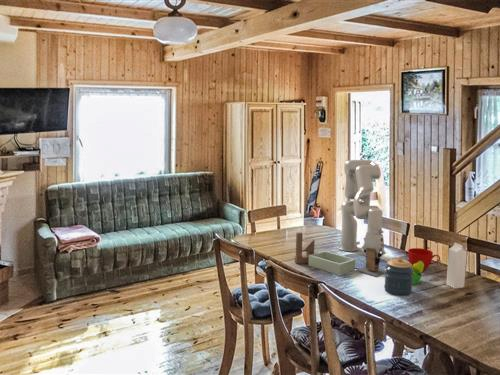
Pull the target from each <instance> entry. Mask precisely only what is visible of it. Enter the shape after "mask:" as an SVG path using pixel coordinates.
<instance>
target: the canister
mask: <svg viewBox="0 0 500 375" xmlns="http://www.w3.org/2000/svg"><path fill="white" fill-rule="evenodd" d="M385 270H386V272H385V274H384V275H385V276H384V286H383V288H384V291H385V292H386V293H388V294H390V295H393V296H398V297H399V296H400V297H406V296H410V295H411V294H412V293H413V292H412V291H413V284H412V278H413V275H412V272H413V267H412V264H411V263H410V262H409V260H407V259H404V258H403V256H400V255H399V256H397V258H392V259H390V260H388V261H387V264H386V265H385Z"/></svg>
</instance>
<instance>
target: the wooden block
mask: <svg viewBox="0 0 500 375" xmlns="http://www.w3.org/2000/svg"><path fill="white" fill-rule="evenodd" d="M305 252H306V255H303V253H305ZM311 254H315V238H313V237H312V238H311V239H310V240H308V241H307V243H306V244H305V245H304V246H303V232H300V231H299V232H296V236H295V256H294V263H295V264H297V265H299V264H308V262H309V255H311Z"/></svg>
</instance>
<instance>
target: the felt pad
mask: <svg viewBox="0 0 500 375" xmlns="http://www.w3.org/2000/svg"><path fill="white" fill-rule="evenodd" d="M355 272H358V273H361V274H365V275H368V276H372V277H375V278H377V277H380V276H382V275H385V272H386V269H384V268H380V267H379V269H378V270H375V271H372V270H368V269H366V265H365V266H363V267H361V268H357V269H355Z"/></svg>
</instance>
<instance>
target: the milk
mask: <svg viewBox="0 0 500 375" xmlns="http://www.w3.org/2000/svg"><path fill="white" fill-rule="evenodd" d="M467 255H468V251H467V250H466V249H465V248H463V245H462V244H460V243H458V242H454V243H453V245H452V246H451V247H449V248H448V255H447V256H448V259H447V269H446V270H447V271H446V283H445V285H446V286H448V285H449V286H448V287H450V286H451V287H450V288H452V287H453V288H452V289H463V287H464V288H465V280H466V268H467Z"/></svg>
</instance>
